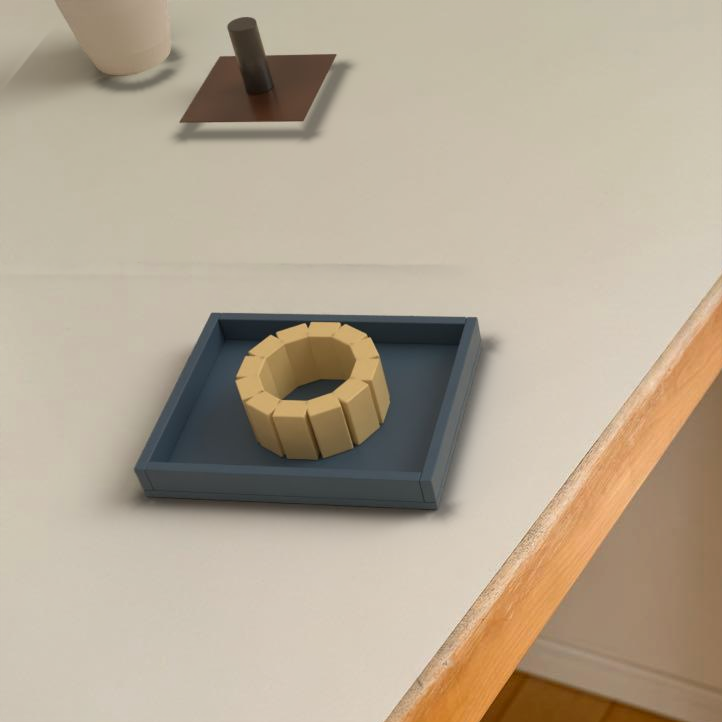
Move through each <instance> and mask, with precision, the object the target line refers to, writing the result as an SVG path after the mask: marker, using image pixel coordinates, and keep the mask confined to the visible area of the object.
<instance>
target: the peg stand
mask: <svg viewBox="0 0 722 722" xmlns="http://www.w3.org/2000/svg"><path fill="white" fill-rule="evenodd" d="M226 29H227V33H228V36H229V39H230V42H231V45H232V50H233V53H234V55H220V56H219V57H218V59H216V61H215V63H214V65H213V66H212V68H211V70H210V71H209V73H208V75H207V76H206V78H205V79H204V82H203V83H202V84H201V86H200V87H199V89H198V91H197V93H196V94H195V96H194V97H193V99H192V101H191V102H190V104H189V106H188V107H187V109H186V111H185V112H184V114H183V115H182V117H181V118H180V120H179V123H180V124H182V123H183V124H184V123H186V124H187V123H188V124H189V123H191V124H192V123H195V124H197V123H199V124H200V123H271V122H272V123H277V122H279V123H281V122H282V123H283V122H284V123H285V122H288V123H289V122H305V120H306V118H307V116H308V114H309V111H310V110H311V107H312V105H313V103H314V101H315V99H316V97H317V95H318V93H319V91H320V89H321V87H322V85H323V83H324V81H325V79H326V77H327V75H328V73H329V71H330V69H331V67H332V65H333V63H334V61H335V59H336V57H337V55H338V54H337V53H317V54H316V53H315V54H314V53H313V54H270V55H269V54H268V55H267V54H266V51H265V47H264V44H263V41H262V37H261V33H260V30H259V25H258V22H257V20H256V18H254V17H252V16H242V17H238V18H235V19H232V20H231V21H230V22H228V24H227V25H226Z"/></svg>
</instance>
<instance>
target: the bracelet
mask: <svg viewBox="0 0 722 722" xmlns="http://www.w3.org/2000/svg"><path fill="white" fill-rule="evenodd" d="M276 335H277V338H276V337H274V336H272V335H270V336H268V337H267V338H266V339H264V340H263V341H262V342H261V343H259V344H258V345H257V346H255V347H254V348H253V349H251V350H250V351H249V352H248V353H249V356H245V358H244V360H243V362H242V364H241V367H240V369H239V371H238V373H237V375H236V378H237V380H236V381H235V382H236V385H237V388H238V391H239V393H240V396H241V399H242V402H243V405H244V407H245V410H246V413H247V415H248V418H249V421H250V423H251V426H252V429H253V431H254V434H255V437H256V439H257V442H260V444H261V446H263V447H265V448H266V449H268V450H270V451H272V452H273V453H275V454H277V455H279V456H281V457H283V456H284V455H286V457H287V459H306V460H317V459H318V457H319V454H320V453H321V455H322V457H323V458H327V457H330V456H333V455H336V454H339V453H342V452H345V451H348V450H351V449H353V444H352V442H353V443H355V444H357V445H360V444H361V443H362V442H364V441H365V440H366V439H367V438H368V437H369V436H371V435H372V434H373V433H374V432H375V431H376V430H377V429H379V427H380V425H379V423H383V422H384V419H385V416H386V413H387V410H388V407H389V404H390V400H389V398H390V396H389V392H388V388H387V384H386V380H385V376H384V372H383V368H382V364H381V361H380V357H379V354H378V352H377V350H376V348H375V346H374V343H373V341H372V339H371V338H370V337H369V338H368V337H367V334H365V333H363V332H361V331H359V330H357V329H355V328H353V327H351V326H349V325H347V324H345V325H343V326H342V327H341V324H340V323H337V322H311V323H310V326H309V328H307V325H306V324H305V323H304V324H301V325H297V326H294V327H291V328H288V329H285V330H282V331H279V332H276ZM320 379H329V380H346V382H344V383H343V384H342V385H341V386H339V387H338V388H337V389H336V390H335V391H333V392H332V393H329V394H326V395H323V396H320V397H317V398H314V399H311V400H308V401H296V400H282V399H284V398H285V397H286V396H287V395H288V394H290V393H291V392H292V391H293V390H295V389H296V388H297V387H298V386H302V385H305V384H308V383H311V382H314V381H317V380H320Z"/></svg>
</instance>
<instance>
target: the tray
mask: <svg viewBox="0 0 722 722" xmlns="http://www.w3.org/2000/svg"><path fill="white" fill-rule="evenodd" d="M311 322H337V323H340V324H341V327H342V326H343V325H345V324H347V325H349V326H351V327H353V328H355V329H357V330H359V331H361V332H363V333H365V334H367V337H368V338H369V337H370V338H371V339H372V341H373V343H374V346H375V348H376V350H377V352H378V354H379V357H380V361H381V364H382V368H383V372H384V376H385V380H386V384H387V388H388V392H389V396H390V398H389V400H390V404H389V407H388V410H387V413H386V416H385V419H384V422H383V423H379V425H380V427H379V429H377V430H376V431H375V432H374V433H373V434H372V435H371V436H369V437H368V438H367V439H366V440H365V441H364V442H362V443H361V444H360V445H357V444H355V443H353V442H352V444H353V449H351V450H348V451H345V452H342V453H339V454H336V455H333V456H330V457H327V458H323V457H322V455H321V453H320V454H319V457H318V459H317V460H306V459H287V457H286V455H284V456H283V457H281V456H279V455H277V454H275V453H273V452H272V451H270V450H268V449H266V448H265V447H263V446H261V444H260V442H257V439H256V437H255V434H254V431H253V429H252V426H251V423H250V421H249V418H248V415H247V413H246V410H245V407H244V405H243V402H242V399H241V396H240V393H239V391H238V388H237V385H236V382H235V381H236V380H237V378H236V375H237V373H238V371H239V369H240V367H241V364H242V362H243V360H244V358H245V356H249V353H248V352H249V351H250V350H251V349H253V348H254V347H255V346H257V345H258V344H259V343H261V342H262V341H263V340H264V339H266V338H267V337H268V336H270V335H272V336H274V337H276V338H277V335H276V332H279V331H282V330H285V329H288V328H291V327H294V326H297V325H301V324H304V323H305V324H306V325H307V328H309V326H310V323H311ZM482 348H483V341H482V336H481V330H480V325H479V319H478V317H477V316H439V315H438V316H436V315H384V314H383V315H382V314H381V315H378V314H375V315H374V314H325V313H324V314H323V313H321V314H320V313H319V314H318V313H317V314H316V313H266V312H263V313H261V312H211V313H210V314H209V316H208V318H207V321H206V323H205V324H204V327H203V329H202V331H201V333H200V334H199V336H198V338H197V341H196V342H195V344H194V346H193V348H192V350H191V352H190V354H189V357H188V358H187V361H186V362H185V365H184V367H183V368H182V371H181V373H180V375H179V376H178V378H177V381H176V383H175V385H174V386H173V390H172V391H171V393H170V395H169V397H168V399H167V401H166V403H165V405H164V407H163V409H162V411H161V412H160V415H159V417H158V419H157V421H156V423H155V426H154V427H153V429H152V431H151V433H150V435H149V437H148V439H147V441H146V444H145V445H144V447H143V449H142V451H141V454H140V455H139V457H138V460H137V462H136V463H135V465H134V468H133V471H134V473H135V475H136V477H137V479H138V481H139V483H140V485H141V488H142V489H143V492H144V494H145V496H146V497H149V498H167V499H168V498H169V499H170V498H172V499H193V500H195V499H196V500H217V501H219V500H220V501H237V502H260V503H261V502H262V503H281V504H304V505H305V504H307V505H326V506H327V505H328V506H350V507H351V506H352V507H370V508H373V507H374V508H394V509H395V508H396V509H415V510H416V509H417V510H418V509H419V510H439V507H440V503H441V499H442V495H443V492H444V488H445V485H446V481H447V477H448V473H449V470H450V467H451V466H450V465H451V462H452V458H453V455H454V451H455V448H456V444H457V440H458V436H459V433H460V429H461V426H462V421H463V419H464V415H465V414H464V413H465V411H466V407H467V403H468V400H469V395H470V392H471V389H472V385H473V380H474V377H475V374H476V370H477V366H478V364H479V359H480V356H481V352H482ZM344 382H346V380H329V379H320V380H317V381H314V382H311V383H308V384H305V385H302V386H298V387H297V388H296V389H295V390H293V391H292V392H291V393H290V394H288V395H287V396H286V397H285V398H284V399H282V400H296V401H308V400H311V399H314V398H317V397H320V396H323V395H326V394H329V393H332V392H333V391H335V390H336V389H337V388H338V387H339V386H341V385H342V384H343V383H344Z"/></svg>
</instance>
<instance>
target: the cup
mask: <svg viewBox="0 0 722 722" xmlns="http://www.w3.org/2000/svg"><path fill="white" fill-rule="evenodd" d="M54 3H55V4H56V7H57V8H58V10H59V11H60V13H61V15H62V17H63V19H64V20H65V22H66V23H67V25H68V27H69V28H70V30H71V32H72V33H73V35H74V37H75V38H76V40H77V42H78V44H79V45H80V47H81V49H82V50H83V52H84V53H85V54H86V55H87V57H88V58H89V59H90V61H91V62H92V63H93V65H94V66H95V67H96V68H97V70H98V71H100V73H103V74H106V75H109V76H128V75H134V74H138V73H142V72H145V71H147V70H150V69H152V68H154V67H157V66H158V65H161V63H163V62H164V61H165V60H166V59H167V58H168V57H169V56H170V53H171V52H172V41H171V40H172V38H171V37H172V35H171V34H172V31H171V20H170V14H169V7H168V2H167V0H54Z"/></svg>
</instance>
